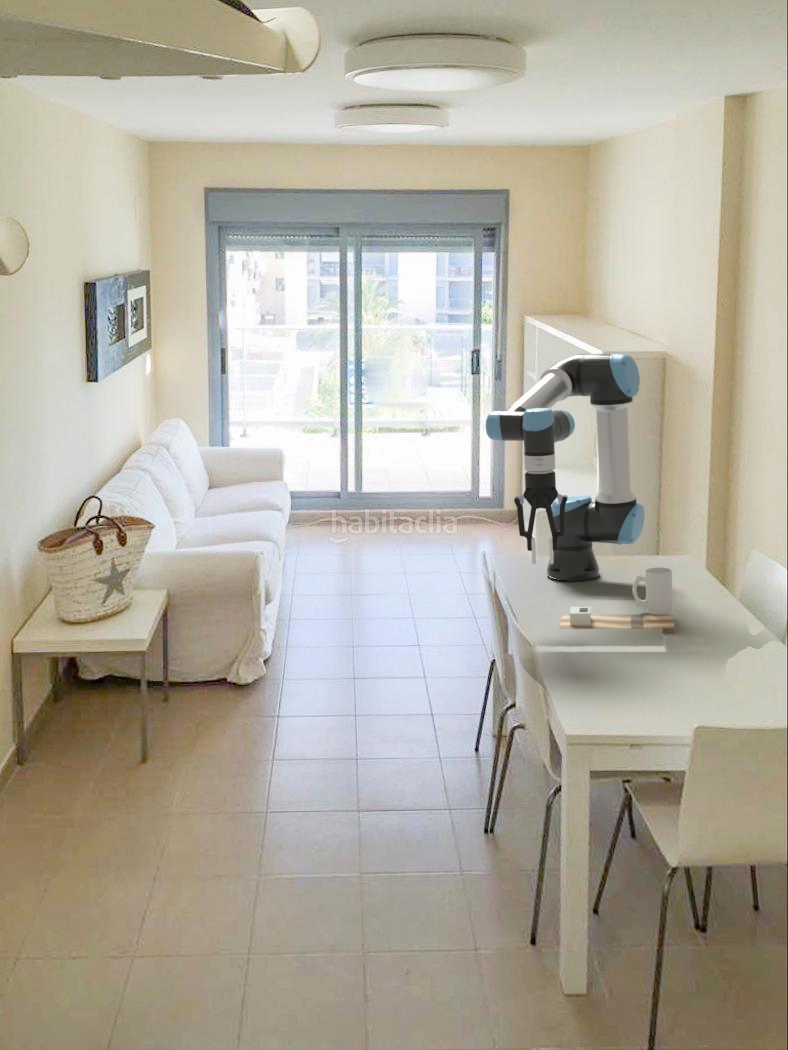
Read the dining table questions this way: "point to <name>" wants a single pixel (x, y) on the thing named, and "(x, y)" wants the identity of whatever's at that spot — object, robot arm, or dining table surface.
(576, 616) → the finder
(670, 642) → the dining table surface
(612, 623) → the board
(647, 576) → the mug
